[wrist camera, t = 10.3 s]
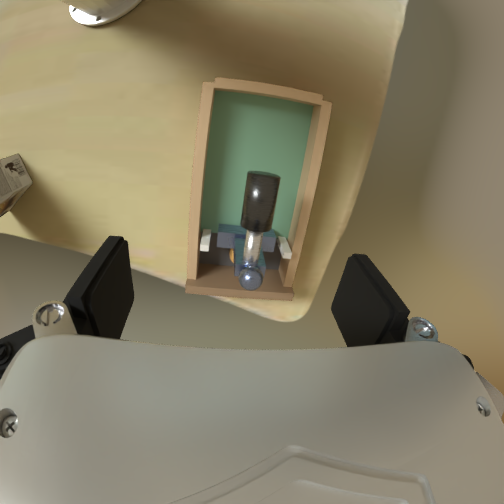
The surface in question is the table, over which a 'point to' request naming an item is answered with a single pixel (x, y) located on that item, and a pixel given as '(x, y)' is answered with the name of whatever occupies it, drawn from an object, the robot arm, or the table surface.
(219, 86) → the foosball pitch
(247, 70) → the table surface
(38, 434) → the robot arm
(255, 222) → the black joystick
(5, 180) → the coffee box
